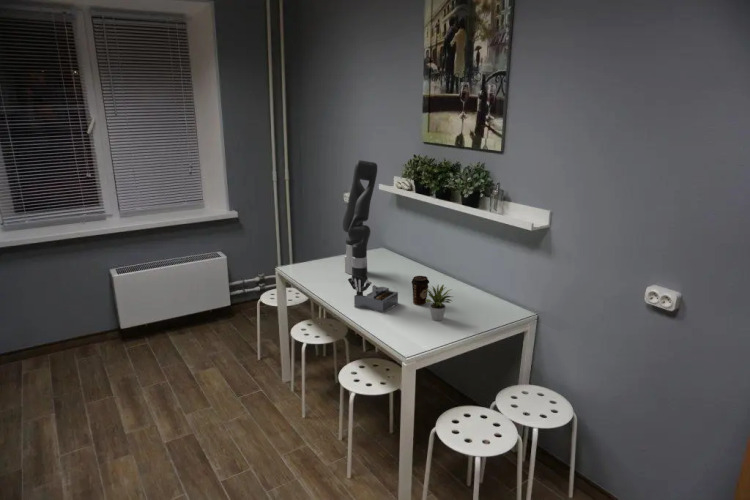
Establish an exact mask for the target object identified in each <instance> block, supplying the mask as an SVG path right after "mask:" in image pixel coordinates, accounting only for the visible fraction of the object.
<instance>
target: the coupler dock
mask: <svg viewBox="0 0 750 500" xmlns="http://www.w3.org/2000/svg"><path fill="white" fill-rule="evenodd" d="M371 287H372V290H371V292H370V293H368V294H366V295H363V296H362V295H357V294H356V295H354V296H353V297H354V298H353V299H354V303H353V304H354V308H364V309H368V310H372V311H375V312H380V313H385V312H387V311H388V310H389V309H392V307H395V306H396V305H397V304H399V301H398V300H399V292H397V291H393V290H390V289H389V287H385V286H376V285H375V284H373V285H371ZM382 294H385V295H389V296H388V297H387V298H385V299H383V300H380V299H376V298H377V297H378V296H380V295H382Z"/></svg>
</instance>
